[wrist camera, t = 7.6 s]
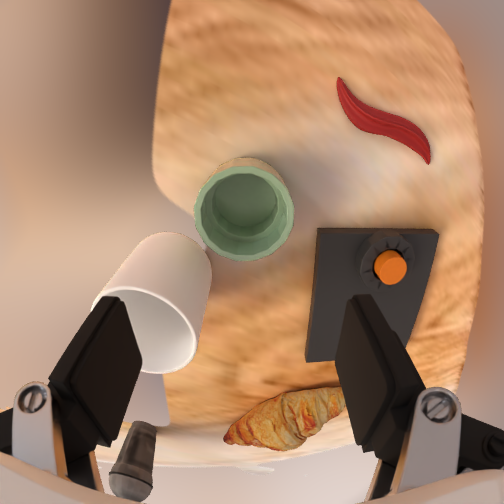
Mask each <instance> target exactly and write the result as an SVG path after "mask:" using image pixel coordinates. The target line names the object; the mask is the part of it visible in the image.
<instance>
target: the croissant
mask: <svg viewBox="0 0 504 504" xmlns="http://www.w3.org/2000/svg"><path fill="white" fill-rule="evenodd" d="M345 404H346V403H345V399H344V395H343V392H342V388H341V387H336V388H330V387H326V388H318V389H311V390H302V391H296V392H289V393H281V394H280V395H279V396H277V397H276V398H273V399H270V400H267V401H265V402H263V403H261V404H259V405H257V406H256V407H254V408H253V409H252V410H251V411H250V412H249V413H247V414H246V415H245V416H244V417H242V418H241V419H240V420H238V421H237V422H235V423H234V424H232V425H231V427H230V428H229V430H228V431H227V433H226V434H225V436H224V437H223V440H224V442H226V443H227V444H230V445H233V444H235V443H236V444H238V445H244V446H250V445H253V446H257V447H267V448H270V449H271V450H276V451H287V450H292V449H295V448H298V447H299V446H301V445H302V444H303V443H304V442H305V441H306V439H307V437H310V436H312V435H315V434H316V433H317V432H319V431H320V430H321V428H322V427H323V424H324V423H327V422H328V421H329V420H330V419H332V418H334V417H336V416H338V415H339V414H340V413H341V412H342V410H343V409H344V407H345Z"/></svg>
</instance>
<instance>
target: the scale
mask: <svg viewBox="0 0 504 504" xmlns="http://www.w3.org/2000/svg"><path fill="white" fill-rule="evenodd" d="M438 238H439V233H437V232H436V231H435V230H433V229H393V228H318V229H317V242H316V255H315V266H314V277H313V288H312V298H311V307H310V316H309V324H308V332H307V340H306V348H305V359H306V363H308V362H322V361H334V360H335V356H336V352H337V347H338V343H339V338H340V334H341V329H342V324H343V319H344V314H345V308H346V303H347V300H348V299H352V297H353V295H356V294H371V295H372V297H373V298H374V300H375V302H376V303H377V305H378V307H379V309H380V310H381V312H382V314H383V316H384V317H385V319H386V321H387V323H388V324H389V326H390V328H391V330H393V331H395V332H396V333H397V335H398V336H399V338H400V340H401V342H402V344H403V345H404V347H405V348H406V345H407V343H408V340H409V337H410V335H411V332H412V329H413V326H414V324H415V321H416V318H417V315H418V312H419V309H420V306H421V303H422V299H423V296H424V293H425V289H426V286H427V282H428V279H429V275H430V272H431V268H432V264H433V260H434V256H435V251H436V247H437V243H438ZM387 250H393V251H396V252H397V253H398V254H399V255H400V256H401V257H402V258H403V259H404V260H405V262H406V265H407V270H406V273H405V275H404V277H403V278H402V279H401V280H400V281H399V282H398V283H396V284H392V285H388V284H385V283H383V282H382V281H381V279H380V278H379V276H378V275H377V274H376V272H375V270H374V263H375V260H376V259H377V257H378V256H379V255H380V254H381V253H382V252H384V251H387Z"/></svg>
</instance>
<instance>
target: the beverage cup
mask: <svg viewBox="0 0 504 504" xmlns="http://www.w3.org/2000/svg"><path fill="white" fill-rule="evenodd" d="M156 432H157V430H156V428H155V427H154V426H152V425H151V424H149V423H146V422H143V421H134V422H133V423H132V426H131V428H130V429H129V432H128V434H127V437H126V439H125V441H124V444H123V446H122V449H121V451H120V453H119V456H118V458H117V461H116V463H115V464H114V466H113V467H112V469H111V472H109V485H110V488H111V490H112V492H113V493H114V494H115V495H116V496H117V497H120V498H124V499H128V500H132V501H136V502H141V501H143V500H145V499H146V498H147V497H148V496H149V495H150V493H151V490H152V488H153V486H152V483H153V482H152V481H153V480H152V469H153V460H154V452H155V443H156Z"/></svg>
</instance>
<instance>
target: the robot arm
mask: <svg viewBox="0 0 504 504" xmlns="http://www.w3.org/2000/svg"><path fill="white" fill-rule="evenodd" d="M142 361H143V360H142V355H141V353H140V350H139V347H138V344H137V341H136V338H135V335H134V332H133V328H132V325H131V322H130V319H129V315H128V312H127V309H126V305H125V303H124V301H121V300H120V298H119V297H117V296H102V297H101V298H100V300H99V301H98V303H97V304H96V305H95V307H94V308H93V310H92V311H91V313H90V314H89V315H88V317H87V318H86V320H85V321H84V323H83V324H82V326H81V327H80V329H79V330H78V332H77V333H76V335H75V336H74V338H73V339H72V341H71V342H70V344H69V345H68V347H67V349H66V350H65V352H64V353H63V355H62V356H61V358H60V360H59V361H58V363H57V365H56V366H55V368H54V370H53V371H52V373H51V375H50V376H49V378H48V379H49V380H50V382H49V384H48V385H46V384H44V383H42V382H31V383H28V384H26V385H24V386H23V387H22V388H21V389H20V390H19V391H18V392H17V394H16V396H15V399H14V406H13V408H11V409H9V410H6V411H4V412H2V413H0V504H145V503H141V502H136V501H132V500H128V499H124V498H120V497H116V496H113V495H109V494H105V492H104V488H103V485H102V481H101V478H100V474H99V470H98V465H97V461H96V457H95V452H94V450H95V448H96V445H97V444H98V445H101V446H105V447H109V448H110V446H111V443H112V440H113V441H115V440H116V439H117V437H118V434H119V431H120V428H121V425H122V422H123V418H124V416H125V413H126V410H127V407H128V404H129V401H130V398H131V395H132V392H133V389H134V386H135V384H136V381H137V379H138V375H139V373H140V370H141V368H142ZM335 366H336V370H337V374H338V377H339V381H340V384H341V388H342V392H343V395H344V399H345V403H346V407H347V410H348V414H349V418H350V422H351V426H352V430H353V434H354V438H355V442H356V444H357V445H362V449H363V453H365V452H370V451H374V452H375V456H376V457H377V458H379V460H378V464H377V467H376V470H375V473H374V476H373V478H372V482H371V484H370V487H369V490H368V492H367V495H366V498H365V500H364V502H362V503H357V504H504V431H503V430H501V429H499V428H497V427H494V426H491V425H489V424H486V423H484V422H481V421H479V420H476V419H474V418H471V417H469V416H467V415H464V414H462V413H461V404H460V402H459V400H458V398H457V397H456V396H455V394H454V393H452V392H451V391H449V390H448V389H445V388H442V387H431V388H427V389H426V387H425V385H424V383H423V381H422V379H421V377H420V375H419V374H418V372H417V370H416V368H415V366H414V364H413V362H412V360H411V358H410V356H409V355H408V353H407V351H406V349H405V347H404V345H403V344H402V342H401V340H400V338H399V336H398V335H397V333H396V332H395V331H393V330H391V328H390V326H389V324H388V323H387V321H386V319H385V317H384V316H383V314H382V312H381V310H380V309H379V307H378V305H377V303H376V302H375V300H374V298H373V297H372V295H371V294H356V295H353V297H352V299H348V300H347V303H346V308H345V314H344V319H343V324H342V329H341V334H340V338H339V343H338V347H337V352H336V356H335Z"/></svg>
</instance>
